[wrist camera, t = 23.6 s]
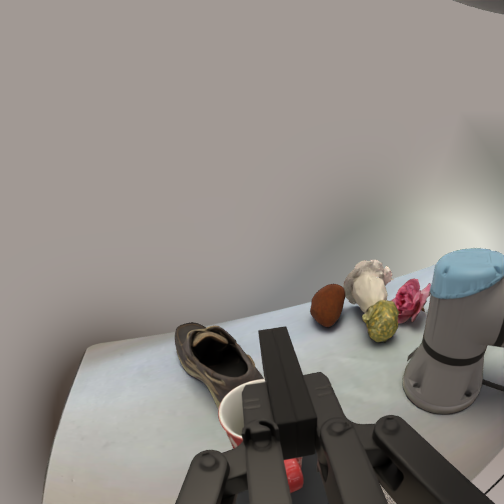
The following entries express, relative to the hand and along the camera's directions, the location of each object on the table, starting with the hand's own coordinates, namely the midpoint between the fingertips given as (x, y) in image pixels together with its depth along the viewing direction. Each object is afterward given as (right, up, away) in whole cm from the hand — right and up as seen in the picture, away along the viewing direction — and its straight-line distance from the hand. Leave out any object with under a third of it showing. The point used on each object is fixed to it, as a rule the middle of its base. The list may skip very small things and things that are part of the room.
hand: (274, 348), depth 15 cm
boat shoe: (-7, -18, +36) cm, 41 cm away
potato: (+19, -7, +47) cm, 51 cm away
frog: (+21, -10, +51) cm, 56 cm away
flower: (+35, -10, +45) cm, 58 cm away
